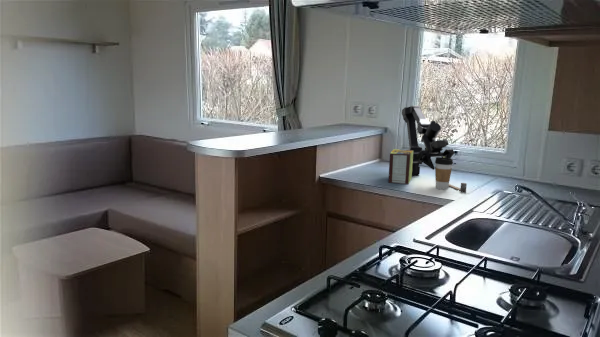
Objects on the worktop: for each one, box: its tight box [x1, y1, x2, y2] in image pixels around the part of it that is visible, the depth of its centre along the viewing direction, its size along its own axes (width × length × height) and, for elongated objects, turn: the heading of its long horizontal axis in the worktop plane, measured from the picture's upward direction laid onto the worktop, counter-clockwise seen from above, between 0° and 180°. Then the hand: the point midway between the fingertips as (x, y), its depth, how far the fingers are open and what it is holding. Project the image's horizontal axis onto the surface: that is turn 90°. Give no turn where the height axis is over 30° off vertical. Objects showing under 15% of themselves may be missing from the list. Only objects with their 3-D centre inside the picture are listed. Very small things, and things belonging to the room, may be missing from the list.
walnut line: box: [448, 182, 468, 193], centre depth 228 cm, size 20×3×4 cm, turn 15°
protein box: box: [388, 148, 413, 185], centre depth 241 cm, size 10×15×16 cm
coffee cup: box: [434, 157, 454, 190], centre depth 226 cm, size 8×8×15 cm
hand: (441, 168), depth 226 cm, fingers open, 9 cm apart
